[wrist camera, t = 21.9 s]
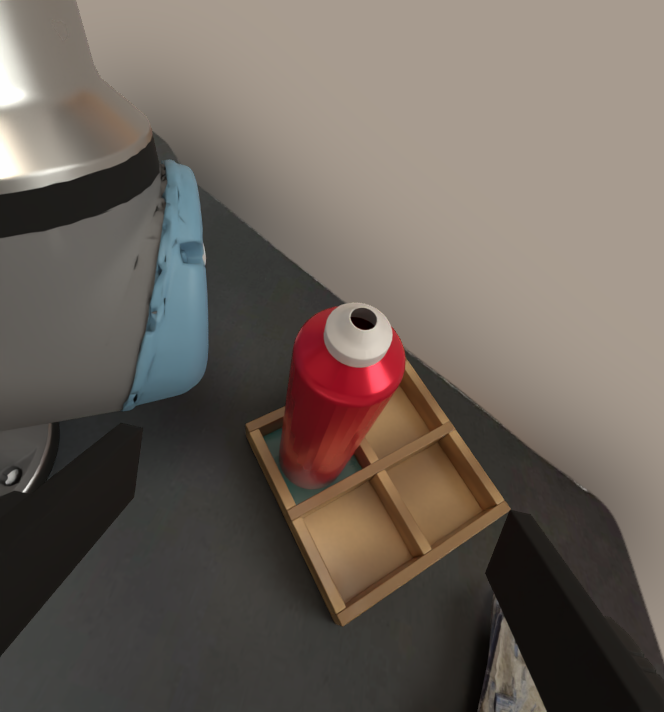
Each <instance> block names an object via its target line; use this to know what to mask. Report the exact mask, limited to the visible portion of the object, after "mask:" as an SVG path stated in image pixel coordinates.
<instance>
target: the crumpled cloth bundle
mask: <svg viewBox="0 0 664 712" xmlns="http://www.w3.org/2000/svg"><path fill="white" fill-rule="evenodd" d="M477 712H547V711H546V709H545V707H544V704H543V702H542V700H541V698H540V695H539V693H538V691H537V689H536V686H535V684H534V682H533V680H532V677H531V675H530V673H529V671H528V668H527V666H526V664H525V662H524V659H523V657H522V655H521V653H520V650H519V648H518V646H517V644H516V641H515V639H514V637H513V635H512V632H511V630H510V628H509V626H508V623H507V621H506V619H505V617H504V614H503V612H502V610H501V608H500V605H499V603H498V601H497V599H496V596H495V594H494V593H493V600H492V608H491V628H490V643H489V655H488V663H487V668H486V673H485V678H484V683H483V688H482V692H481V697H480V701H479V706H478V711H477Z"/></svg>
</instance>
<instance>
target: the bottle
mask: <svg viewBox="0 0 664 712" xmlns="http://www.w3.org/2000/svg"><path fill="white" fill-rule="evenodd" d="M405 364H406V358H405V351H404V347H403V345H402V342H401V339H400V338H399V336H398V335H397V333H396V331H395V330H394V329H393V328H392V327H391V325H390V323H389V321H388V320H387V318H386V317H385V316H384V315H383V314H382V313H381V312H380V311H379V310H377V309H376V308H374V307H372V306H370V305H367V304H363V303H347V304H343V305H341V306H338V307H332V308H329V309H325V310H323V311H321V312H319V313H317V314H315V315H314V316H312V317H311V318H310V319H309V320H307V321H306V322H305V324H304V325H303V326H302V327H301V329H300V330H299V332H298V334H297V336H296V338H295V342H294V347H293V353H292V360H291V367H290V375H289V382H288V389H287V397H286V404H285V412H284V419H283V426H282V434H281V441H280V449H279V463H280V467H281V469H282V472H283V473H284V475H285V476H286V478H287V479H288V480H289V481H290V482H292V483H293V484H295V485H296V486H298V487H301V488H304V489H309V490H310V489H320V488H324V487H326V486H328V485H330V484H331V483H332V482H334V481H335V480H336V479H337V477H338V476H339V475H340V473H341V472H342V470H343V469H344V467H345V466H346V464H347V463H348V461H349V460H350V458H351V457H352V455H353V454H354V452H355V451H356V449H357V448H358V446H359V445H360V443H361V442H362V440H363V439H364V437H365V436H366V435H367V433H368V432H369V430H370V429H371V427H372V426H373V424H374V423H375V421H376V420H377V418H378V417H379V415H380V414H381V412H382V411H383V409H384V408H385V406H386V405H387V403H388V402H389V400H390V399H391V397H392V396H393V394H394V393H395V391H396V390H397V388H398V386H399V385H400V383H401V381H402V379H403V375H404V372H405Z"/></svg>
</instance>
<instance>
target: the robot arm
mask: <svg viewBox="0 0 664 712" xmlns="http://www.w3.org/2000/svg"><path fill="white" fill-rule="evenodd" d="M202 235H203V228H202V217H201V208H200V200H199V193H198V187H197V182H196V179H195V176H194V173H193V171H192V170H191V169H190V168H189V167H188V166H185V165H182V164H177V163H176V162H175V161H173V160H171V159H170V160H163V161H161V164H160V163H159V161H158V156H157V152H156V147H155V143H154V138H153V134H152V129H151V125H150V121H149V120H148V118H147V117H146V116H145V114H143V113H142V112H141V111H140V110H139V109H138V108H136V107H135V106H134V105H133V104H132V103H130V102H129V101H128V100H127V99H126V98H124V97H123V96H122V95H121V94H120V93H118V92H117V91H116V90H115V89H114V88H112V87H111V86H110V85H109V84H108V83H106V82H105V81H104V80H103V79H102V78H101V77H100V75H99V73H98V71H97V70H96V68H95V66H94V64H93V60H92V56H91V53H90V49H89V45H88V42H87V38H86V35H85V31H84V28H83V24H82V20H81V17H80V13H79V9H78V6H77V2H76V0H0V656H1V655H2V654H3V653H4V652H5V650H6V649H7V648H8V647H9V646H10V644H11V643H12V642H13V641H14V640H15V638H16V637H17V636H18V635H19V634H20V632H21V631H22V630H23V629H24V628H25V626H26V625H27V624H28V623H29V622H30V621H31V619H32V618H33V617H34V616H35V615H36V613H37V612H38V611H39V610H40V609H41V607H42V606H43V605H44V604H45V603H46V601H47V600H48V599H49V598H50V597H51V595H52V594H53V593H54V592H55V591H56V589H57V588H58V587H59V586H60V585H61V584H62V582H63V581H64V580H65V579H66V578H67V576H68V575H69V574H70V573H71V572H72V570H73V569H74V568H75V567H76V566H77V564H78V563H79V562H80V561H81V560H82V558H83V557H84V556H85V555H86V554H87V552H88V551H89V550H90V549H91V548H92V547H93V545H94V544H95V543H96V542H97V541H98V539H99V538H100V537H101V536H102V535H103V533H104V532H105V531H106V530H107V529H108V527H109V526H110V525H111V524H112V523H113V521H114V520H115V519H116V518H117V517H118V515H119V514H120V513H121V512H122V511H123V509H124V508H125V507H126V506H127V505H128V504H129V502H130V501H131V500H132V499H133V498H134V493H135V485H136V478H137V470H138V462H139V455H140V447H141V439H142V432H143V428H141V427H137V426H132V425H128V424H123V423H120V424H119V425H118V426H116V427H115V428H114V429H112V430H111V431H110V432H109V433H107V434H106V435H105V436H104V437H102V438H101V439H100V440H98V441H97V442H96V443H95V444H93V445H92V446H91V447H90V448H88V449H87V450H86V451H84V452H83V453H82V454H81V455H79V456H78V457H77V458H76V459H74V460H73V461H72V462H70V463H69V464H68V465H67V466H65V467H64V468H63V469H62V470H60V471H59V472H58V473H56V474H55V475H54V476H53V477H51V478H50V479H49V480H48V481H46V480H47V478H48V476H49V474H50V472H51V469H52V467H53V464H54V461H55V458H56V454H57V451H58V445H59V421H64V420H70V419H76V418H82V417H87V416H93V415H99V414H104V413H110V412H116V411H121V412H123V411H129V410H132V409H133V408H134V407H135V406H137V405H141V404H145V403H149V402H153V401H157V400H161V399H165V398H169V397H173V396H177V395H181V394H183V393H185V392H187V391H189V390H190V389H191V388H193V387H194V386H195V385H197V384H198V382H199V381H200V380H201V378H202V377H203V375H204V373H205V370H206V365H207V359H208V301H207V283H206V269H205V264H204V261H203V258H202V257H203V254H204V249H203V239H202ZM45 481H46V482H45ZM485 574H486V576H487V578H488V581H489V583H490V585H491V587H492V590H493V592H494V594H495V596H496V599H497V601H498V603H499V605H500V608H501V610H502V612H503V614H504V617H505V619H506V621H507V623H508V626H509V628H510V630H511V632H512V635H513V637H514V639H515V641H516V644H517V646H518V648H519V650H520V653H521V655H522V657H523V659H524V662H525V664H526V666H527V668H528V671H529V673H530V675H531V677H532V680H533V682H534V684H535V686H536V689H537V691H538V693H539V695H540V698H541V700H542V702H543V704H544V707H545V709H546V711H547V712H664V680H663V679H662V678H661V676H660V675H659V674H656V670H655V668H654V667H653V666H652V664H651V663H650V662H649V660H648V659H647V658H645V657H644V654H643V652H642V651H641V650H640V648H639V647H638V646H637V644H636V643H635V642H634V640H633V639H632V638H631V636H630V635H629V634H628V633H627V632H626V631H625V630H624V629H622V628H621V627H620V626H619V625H618V624H617V623H616V622H615V621H614V620H613V619H612V618H611V617H606V616H603V615H602V613H601V612H600V610H599V609H598V608H597V606H596V605H595V603H594V602H593V601H592V599H591V598H590V597H589V595H588V594H587V592H586V591H585V590H584V588H583V587H582V585H581V584H580V583H579V581H578V580H577V578H576V577H575V576H574V574H573V573H572V571H571V570H570V569H569V567H568V566H567V564H566V563H565V562H564V560H563V559H562V557H561V556H560V555H559V553H558V552H557V550H556V549H555V548H554V546H553V545H552V543H551V542H550V541H549V539H548V538H547V536H546V535H545V534H544V532H543V531H542V529H541V528H540V527H539V525H538V524H537V522H536V521H535V520H534V518H533V517H532V516H531V514H527V513H522V512H518V511H513V510H510V511H509V514H508V516H507V519H506V521H505V524H504V526H503V529H502V532H501V534H500V537H499V539H498V542H497V544H496V547H495V549H494V552H493V554H492V557H491V560H490V562H489V565H488V567H487V570H486V572H485Z"/></svg>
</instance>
